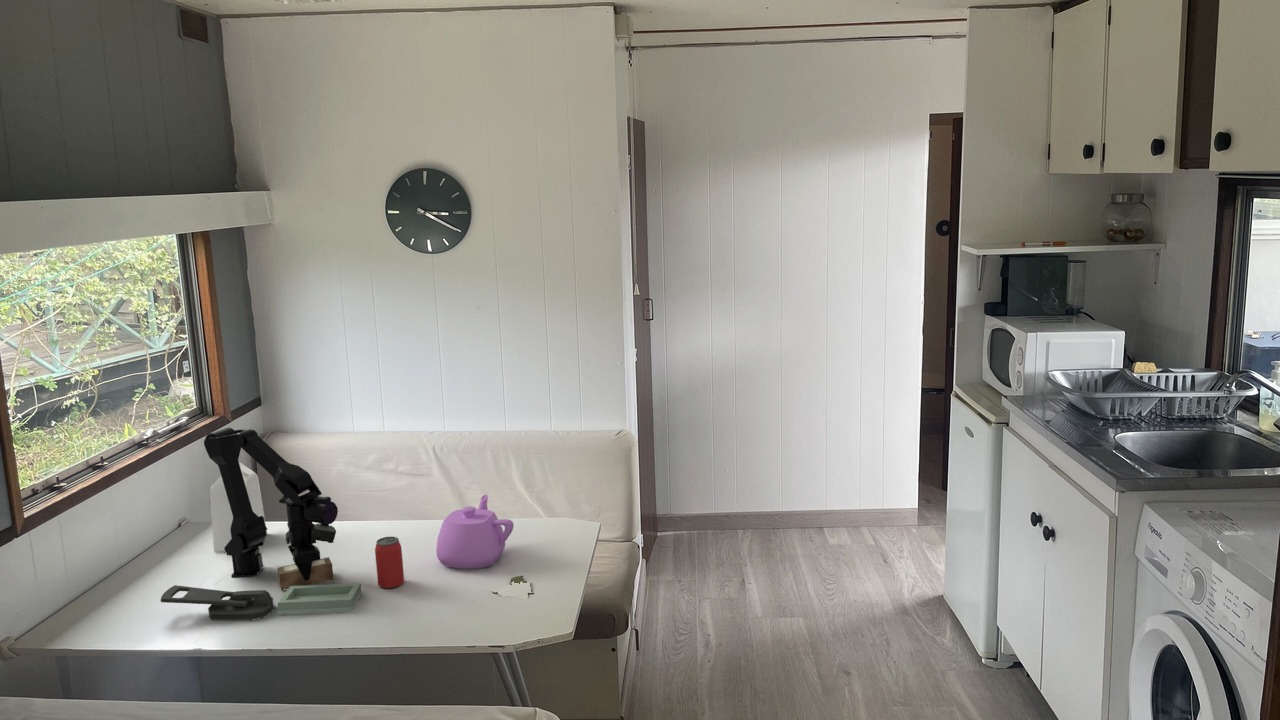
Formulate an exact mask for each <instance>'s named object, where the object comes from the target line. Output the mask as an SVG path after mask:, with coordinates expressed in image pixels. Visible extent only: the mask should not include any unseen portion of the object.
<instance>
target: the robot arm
mask: <svg viewBox="0 0 1280 720" xmlns="http://www.w3.org/2000/svg"><path fill="white" fill-rule="evenodd" d="M204 438H205V439H204V440H203V444H204V448H205V451H206V452H207V453H206V454H208V458H209V459H211V461H213V462H214V463H215V465H217V466H218V469H219V473H220V476H221V477H222V480H223V484H224V487H225V490H226V494H227V497H228V501H229V504H230V508H231V511H232V515H233V520H232V524H231V528H230V531H231V537H232V539H231V540H230V541H229V543H228V544H227V545H226V546H225V548H224V549H225V551H224V552H225V554H226V556H230V557H231V560H232V561H231V562H232V569H233V573H231V575H230V576H231V577H232V578H233V577H234V578H235V577H238V578H239V577H240V578H241V577H255V575H256V576H257V575H258V574H259V573H260V571H262V569H263V568H264V566H265V565H264V564H263V556H262V555H263V554H262V553H261V552H260V547H262V546H264V542H265V539H266V537H267V535H268V532H267V533H266V530H267V531H268V527H267V525H265V523H266V521H265V522H264V518H263V516H260V517H259V516H257V515H256V514H255V513H254V512H253V510H252V507H251V503H250V500H249V496H248V493H247V489H246V486H245V482H244V479H243V475H242V472H241V468H240V465H239V462H240V460H239V458H240V456H241V455H240V454H241V450H243V451H244V452H245V453H247V455H249V456H250V457H251V458H252V459H253V460H254V461H255V462H256V463H257V464H258V465H260V466H261V467H262V468H263V469H264V470H265V471H266V472H267V473H268V474H269V475H271V477H272V478H273V482H274V485H275V487H276V488H277V489H278V491H280V493H281V494H282V495H283V496H282V497H281V498H280V499H279V500H278V503H279V504H286V505H285V507H286V513H287V514H286V516H287V522H286V523H287V528H288V531H287V532H286V533H285V542H286V545H288V546H287V547H288V551H289V552H290V554H291V556H292V560H293V563H294V564H296V566H297V568H298V569H299V571H300V573H301V574H302V576H303V578H304V579H305V580H309V579H310V573H311V566H312V562H313V561H316V560H319V559H321V552H320V549H319V547H318V546H316V545H315V544H317V541H318V542H326V543H328V544H333V543H334V542H335V537H336V533H337V530H336V528H335V527H334V526H333V525H331V524H333V523H334V522H335V521H336V519H337V517H338V513H339V509H338V506H337V504H336V503H335V502H333V501H332V498H331V496H321V495H322V492H321V490H320V488H319V487H318V485H317V484H316V483H315V480H314V479H313V478H312V476H311V474H310V473H309V472H308V471H307V470H306V469H303V468H302V467H301V466H299V465H297V464H294V463H290V462H288V461H287V460H285V459H284V458H283V457H282V456H281V455H280V454H279V453H278V452H276V450H275V449H273V448H272V447H271V446H270V445H269V444H268V443H267V442H265V440H263V439H262V438H261V437H260V436H259V434H258V433H257V431H256V430H254V429H234V428H231V427H225V428H222V429H220V430H219V429H218V430H217V431H214V432H210V433H208V434H207V435H205V437H204ZM238 460H239V461H238ZM307 491H308V492H307ZM314 523H315V524H314ZM289 544H290V545H289ZM258 572H259V573H258ZM257 573H258V574H257Z"/></svg>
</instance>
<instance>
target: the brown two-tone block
mask: <svg viewBox="0 0 1280 720" xmlns="http://www.w3.org/2000/svg"><path fill="white" fill-rule="evenodd" d="M276 568H277V571H276V572H277V579H278V585H280V586H279V589H280V588H281V589H280V590H283V591H285V590H284V589H289V587H290V586H304V585H318V584H319V583H320V584H322V583H326V582H330V581H334V580H335V579H334V572H333V571H334V570H333V563H332V560H331V559H330V556H329V557H324V558H320V559H319V560H316V561H313V562H312V566H311V573H310V579H309V580H305V579H304V578H303V576H302V574H301V573H300V571H299V569H298V568H297V566H296V564H295V563H294V564H290V565H283V566H279V567H276Z"/></svg>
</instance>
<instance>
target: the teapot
mask: <svg viewBox="0 0 1280 720" xmlns="http://www.w3.org/2000/svg"><path fill="white" fill-rule="evenodd" d="M488 498H489V495H488V494H483V495H482V496H481V498H480V501H479V505H478V508H476V507H475V506H465V507H463V508H461V509H456V510H454V511H451V512H450V514H448V515H447V516H446V517H445V518H444V520H443V521H442V524H441V527H440V528H439V533H438V536H437V540H436V549H435V550H436V551H435V553H436V557H437V559H438V561H439V563H440V564H441V565H442V566H445V567H448V568H455V569H477V568H480V569H484V568H487V567H490V566H492V565H494V564H495V563H496V562H497V561H498V560H499V559H500V557H502V556H501V555H502V554H503V553H504V550H505V547H506V541H507V540H508V538H509V537H510V536H511V534H512V532H513V530H514V526H515V525H514V521H513V520H511V519H509V518H508V519H507V518H506V519H505V518H501V519H499V518H498V517H497V515H496V513H495V512H494V511H493V510H489V509H488V500H489V499H488ZM502 526H503V527H504V529H503V527H502ZM483 567H484V568H483Z"/></svg>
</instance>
